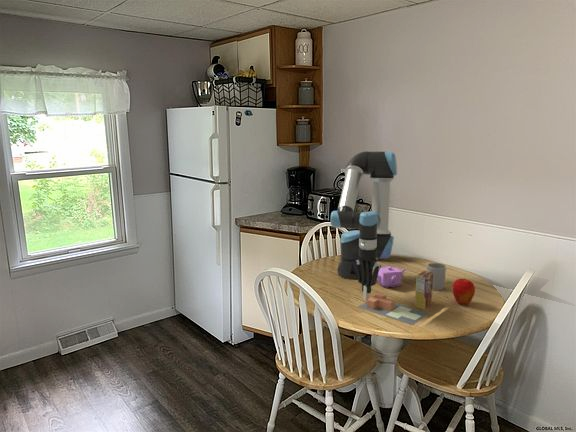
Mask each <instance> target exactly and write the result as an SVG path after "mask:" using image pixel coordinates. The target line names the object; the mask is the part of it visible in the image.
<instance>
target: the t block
mask: <svg viewBox="0 0 576 432" xmlns="http://www.w3.org/2000/svg"><path fill="white" fill-rule="evenodd" d="M366 302H367V308H370V309H373V310H374V309H376V308H377V307H378V308H382V309H385V310H388V311H391V310H393V309H394V305H395V303H396V302H395V300H394V299H393V300H392V299H389V298H387V294H383V293H377V294H375V295H374V296H371V297H369V299H367V300H366Z"/></svg>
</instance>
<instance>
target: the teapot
mask: <svg viewBox="0 0 576 432" xmlns="http://www.w3.org/2000/svg"><path fill="white" fill-rule="evenodd" d="M406 270H408V268H407V267H404V268H402V269H401V270H400V269H399V268H398V267H397V266H389V265H388V266H384V267H382V266H381V268H380V270H379V272H378V276H377V280H376V282H377V283H378V284H379V285H380V287H382V288H384V289H389V287H392V288H393V289H397V288H398V287H401V286H402V278H403V275H404V272H405V271H406ZM373 271H374V269H373V270H372V272H373Z"/></svg>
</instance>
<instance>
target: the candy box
mask: <svg viewBox="0 0 576 432" xmlns="http://www.w3.org/2000/svg"><path fill="white" fill-rule="evenodd" d="M415 279H416V280H415V283H416V284H415V307H416V308H418V309H422V310H425V309H426V308H428V307H429V306H431V305H432V304H433V291H434V290H433V272H431V271H427V269H426V270H423V271H422V272H420V273H418V274H417V275H416V278H415Z"/></svg>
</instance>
